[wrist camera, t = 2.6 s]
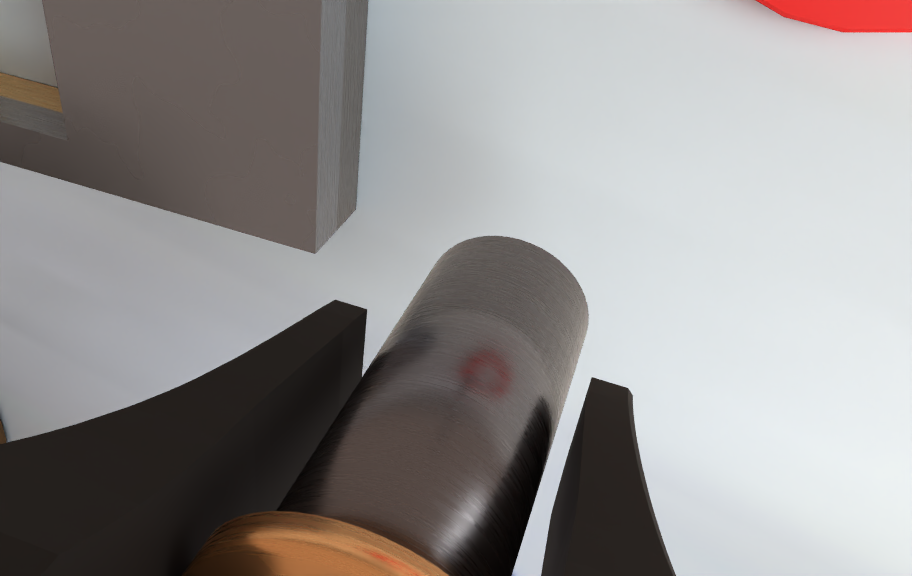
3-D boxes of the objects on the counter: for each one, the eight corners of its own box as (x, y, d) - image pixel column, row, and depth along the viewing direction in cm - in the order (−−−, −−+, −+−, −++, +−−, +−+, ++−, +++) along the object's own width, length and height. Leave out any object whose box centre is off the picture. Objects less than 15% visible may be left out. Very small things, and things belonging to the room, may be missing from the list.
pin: (587, 418, 16) (479, 821, 10) (396, 356, 16) (188, 695, 11) (642, 248, 13) (539, 653, 7) (412, 185, 14) (152, 504, 8)
